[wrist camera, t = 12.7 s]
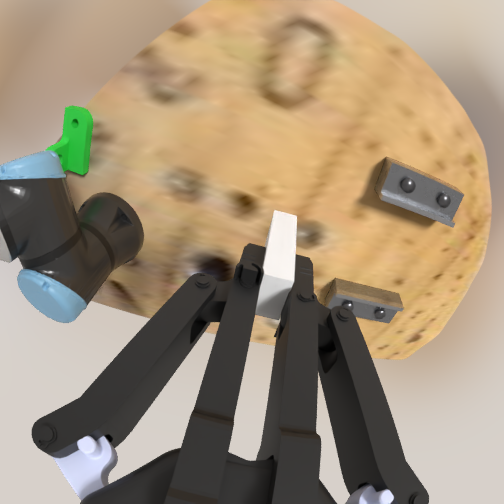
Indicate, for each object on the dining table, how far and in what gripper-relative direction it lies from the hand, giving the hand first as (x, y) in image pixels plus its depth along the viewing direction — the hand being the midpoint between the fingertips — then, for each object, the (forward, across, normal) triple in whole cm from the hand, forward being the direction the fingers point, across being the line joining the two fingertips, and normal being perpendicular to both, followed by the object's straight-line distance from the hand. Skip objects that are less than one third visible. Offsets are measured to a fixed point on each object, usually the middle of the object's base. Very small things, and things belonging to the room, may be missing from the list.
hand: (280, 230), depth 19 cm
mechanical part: (+25, -37, -4) cm, 45 cm away
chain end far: (+24, +21, -23) cm, 40 cm away
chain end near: (+24, +21, 0) cm, 32 cm away
